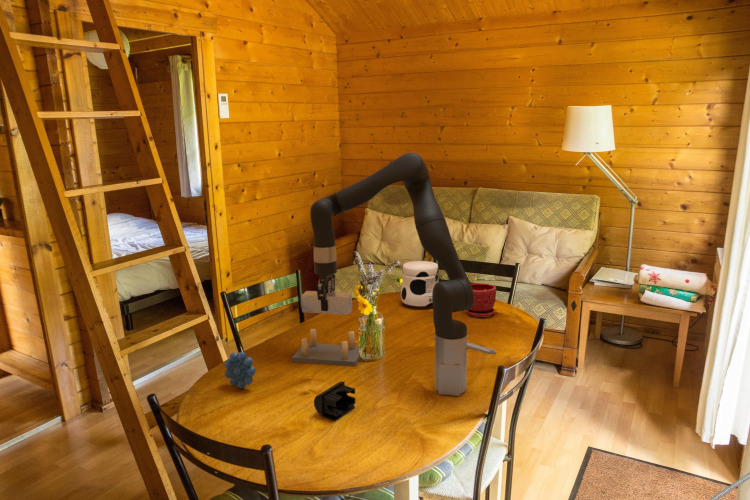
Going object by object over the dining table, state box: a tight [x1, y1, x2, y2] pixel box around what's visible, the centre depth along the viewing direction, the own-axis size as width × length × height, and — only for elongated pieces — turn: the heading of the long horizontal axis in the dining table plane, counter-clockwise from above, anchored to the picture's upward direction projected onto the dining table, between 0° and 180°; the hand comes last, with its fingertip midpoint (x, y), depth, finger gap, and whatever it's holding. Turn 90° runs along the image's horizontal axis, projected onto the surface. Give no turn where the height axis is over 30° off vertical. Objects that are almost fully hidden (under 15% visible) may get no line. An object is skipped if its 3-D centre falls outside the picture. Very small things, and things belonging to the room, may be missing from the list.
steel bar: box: [301, 290, 353, 316], centre depth 186 cm, size 5×16×6 cm, turn 78°
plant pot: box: [465, 282, 497, 318], centre depth 228 cm, size 13×13×12 cm
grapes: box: [224, 351, 256, 389], centre depth 167 cm, size 12×7×12 cm, turn 63°
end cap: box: [313, 381, 356, 422], centre depth 152 cm, size 10×7×7 cm
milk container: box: [400, 260, 439, 309], centre depth 242 cm, size 17×17×18 cm
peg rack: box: [291, 328, 361, 367], centre depth 189 cm, size 13×22×8 cm, turn 77°
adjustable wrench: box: [434, 336, 497, 356], centre depth 196 cm, size 25×6×2 cm, turn 43°
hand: (327, 308), depth 186 cm, fingers closed on steel bar, 5 cm apart
